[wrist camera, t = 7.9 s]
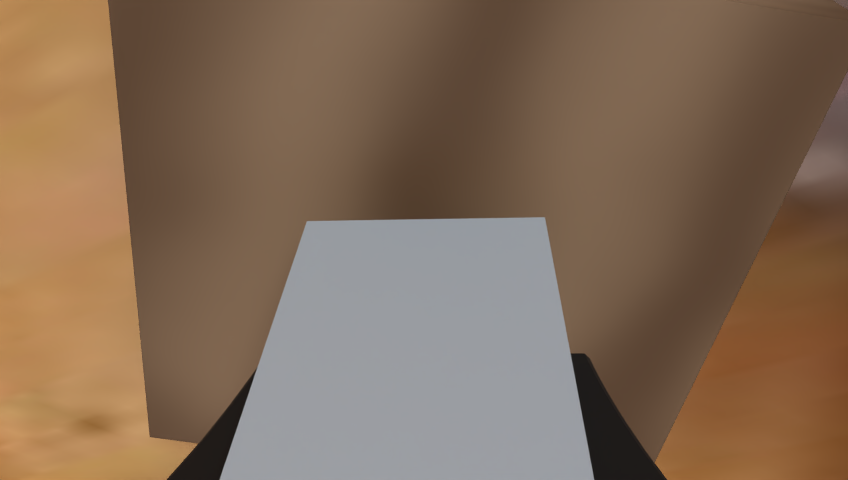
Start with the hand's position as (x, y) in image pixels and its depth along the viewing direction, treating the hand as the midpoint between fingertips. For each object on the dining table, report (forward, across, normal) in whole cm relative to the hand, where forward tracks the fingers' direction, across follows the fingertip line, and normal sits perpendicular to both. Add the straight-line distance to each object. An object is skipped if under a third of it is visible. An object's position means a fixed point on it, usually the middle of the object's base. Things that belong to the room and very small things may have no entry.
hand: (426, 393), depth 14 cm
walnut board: (+6, 0, 0) cm, 6 cm away
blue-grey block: (+2, 0, 0) cm, 2 cm away
